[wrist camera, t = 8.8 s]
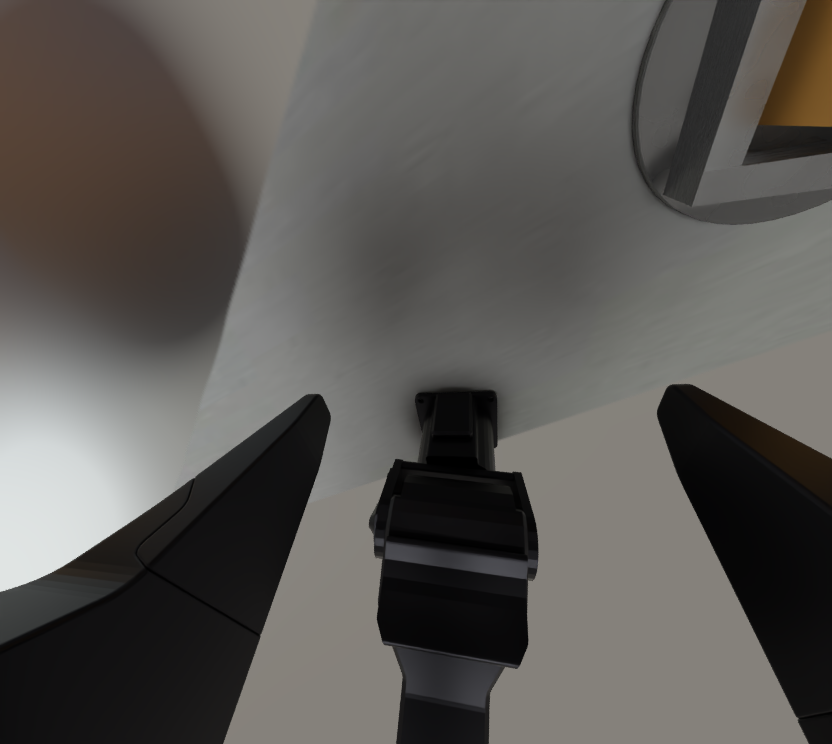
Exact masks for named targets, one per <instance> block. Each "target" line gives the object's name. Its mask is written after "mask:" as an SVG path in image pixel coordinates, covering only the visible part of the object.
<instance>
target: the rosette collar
mask: <svg viewBox="0 0 832 744" xmlns="http://www.w3.org/2000/svg"><path fill="white" fill-rule="evenodd" d="M806 1H807V0H666V1H665V4H664V6H663V8H662V10H661V13H660V15H659V17H658V19H657V22H656V24H655V26H654V28H653V31H652V34H651V37H650V40H649V42H648V45H647V48H646V51H645V54H644V57H643V60H642V64H641V68H640V72H639V76H638V80H637V84H636V90H635V97H634V104H633V120H632V133H633V142H634V151H635V154H636V158H637V162H638V166H639V168H640V170H641V173H642V175H643V177H644V179H645V181H646V183H647V184H648V185H649V187H650V188H651V190H652V191H653V192H654V194H656V195H657V196H658V197H659V198H660V199H661V200H662V201H663V202H664V203H665V204H667V205H669V206H670V207H672V208H673V209H675V210H677V211H679V212H681V213H683V214H685V215H688V216H690V217H693V218H695V219H698V220H701V221H706V222H711V223H715V224H730V225H737V224H753V223H759V222H765V221H770V220H775V219H779V218H783V217H786V216H790V215H794V214H797V213H800V212H802V211H805V210H808V209H811V208H813V207H816V206H819V205H821V204H823V203H826V202H828V201H830V200H832V127H820V126H779V125H758V122H759V120H760V117H761V115H762V112H763V110H764V107H765V105H766V102H767V100H768V97H769V95H770V92H771V90H772V87H773V84H774V82H775V79H776V77H777V74H778V72H779V69H780V67H781V64H782V62H783V59H784V57H785V54H786V52H787V49H788V47H789V44H790V41H791V39H792V36H793V34H794V31H795V29H796V26H797V24H798V21H799V19H800V16H801V14H802V11H803V9H804V6H805V4H806Z"/></svg>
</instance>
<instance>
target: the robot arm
mask: <svg viewBox="0 0 832 744" xmlns="http://www.w3.org/2000/svg"><path fill="white" fill-rule="evenodd" d="M489 397H492V398H489ZM420 399H423V400H420ZM415 403H416V408H417V412H418V417H419V421H420V425H421V430H422V438H421V445H420V451H419V457H418V463H416V462H407V461H403V460H400V459H395V462H394V465H393V468H390V471H389V473H388V475H387V479H386V482H385V485H384V488H383V491H382V494H381V497H380V500H379V502H378V504H377V506H376V508H375V510H374V511H373V513H372V515H371V517H370V520H369V528H370V529H371V531H372V533H373V534H374V553H375V557H376V558H380V559H383V560H382V569H381V579H380V587H379V596H378V613H377V622H378V626H379V630H380V634H381V638H382V642H383V644H384V645H388V646H392V647H393V649H394V652H395V655H396V658H397V661H398V664H399V666H400V669H401V672H402V676H403V681H402V692H401V701H400V711H399V722H398V732H397V741H396V744H489V704H490V703H489V702H490V692H491V690H492V688H493V687H494V685H495V683H496V681H497V680H498V678H499V676H500V674H501V673H502V671H503V669H504V668H505V667H509V668H515V669H517V668H518V667H519V666H520V664H521V662H522V659H523V656H524V654H525V652H526V649H527V646H528V625H527V595H528V580H529V581H533V580H534V579H535V576H536V573H537V567H538V535H537V528H536V522H535V518H534V514H533V511H532V508H531V504H530V501H529V497H528V494H527V490H526V487H525V483H524V480H523V477H522V473H521V472H513V473H509V472H499V471H495V457H494V448H496V447H497V395H496V393H495V392H491V391H485V392H448V393H419V394H417V395H416V398H415ZM657 417H658V421H659V424H660V426H661V429H662V432H663V435H664V438H665V441H666V444H667V446H668V450H669V452H670V455H671V458H672V461H673V464H674V467H675V469H676V472H677V474H678V477H679V479H680V481H681V483H682V485H683V488H684V490H685V492H686V494H687V496H688V498H689V500H690V502H691V504H692V506H693V508H694V510H695V512H696V514H697V516H698V518H699V520H700V522H701V524H702V526H703V528H704V530H705V532H706V534H707V536H708V539H709V540H710V543H711V545H712V546H713V549H714V551H715V553H716V555H717V557H718V559H719V561H720V563H721V565H722V567H723V569H724V571H725V573H726V575H727V577H728V579H729V581H730V583H731V585H732V587H733V589H734V592H735V594H736V596H737V597H738V600H739V602H740V604H741V606H742V608H743V610H744V612H745V614H746V616H747V617H748V620H749V622H750V624H751V626H752V628H753V630H754V632H755V634H756V636H757V638H758V640H759V642H760V644H761V646H762V649H763V651H764V653H765V655H766V657H767V659H768V661H769V663H770V665H771V667H772V669H773V671H774V673H775V675H776V677H777V679H778V681H779V683H780V685H781V687H782V689H783V691H784V693H785V695H786V697H787V699H788V701H789V704H790V706H791V708H792V710H793V711H794V714H795V715H796V717H797V718H799V719H798V723H799V725H800V727H801V729H802V730H803V733H804V735H805V737H806V739H807V741H808V743H809V744H832V459H831V458H829V457H828V456H826V455H824V454H822V453H820V452H818V451H816V450H814V449H812V448H811V447H809V446H807V445H805V444H803V443H801V442H799V441H797V440H795V439H794V438H792V437H790V436H788V435H786V434H784V433H782V432H780V431H778V430H777V429H775V428H773V427H771V426H769V425H767V424H765V423H763V422H761V421H760V420H758V419H756V418H754V417H752V416H750V415H748V414H746V413H745V412H743V411H741V410H739V409H737V408H735V407H733V406H731V405H729V404H727V403H726V402H724V401H722V400H720V399H718V398H716V397H714V396H712V395H711V394H709V393H707V392H705V391H703V390H701V389H699V388H697V387H696V386H693V385H690V384H673V385H670V386H668V387H667V389H666V391H665V393H664V395H663V398H662V400H661V402H660V404H659V407H658V410H657ZM330 421H331V415H330V412H329V410H328V408H327V405H326V403H325V401H324V399H323V397H322V396H321V395H320V394H308V395H305V396H304V397H302V398H301V399H300V400H298V401H297V402H296V403H294V404H293V405H292V406H290V407H289V408H288V409H286V410H285V411H284V412H282V413H281V414H279V415H278V416H277V417H275V418H274V419H273V420H271V421H270V422H269V423H267V424H266V425H265V426H263V427H262V428H260V429H259V430H258V431H256V432H255V433H254V434H252V435H251V436H250V437H248V438H247V439H246V440H244V441H243V442H241V443H240V444H239V445H237V446H236V447H235V448H233V449H232V450H231V451H229V452H228V453H227V454H225V455H224V456H223V457H221V458H220V459H218V460H217V461H216V462H214V463H213V464H212V465H210V466H209V467H208V468H206V469H205V470H204V471H202V472H201V473H199V474H198V475H197V476H196V477H195V478H193V479H191V480H190V481H189V482H187V483H186V484H185V485H183V486H182V487H180V488H179V489H178V490H176V491H175V492H174V493H172V494H171V495H169V496H168V497H167V498H165V499H164V500H162V501H161V502H160V503H158V504H157V505H155V506H154V507H152V508H151V509H150V510H148V511H146V512H145V513H143V514H142V515H140V516H139V517H138V518H136V519H135V520H133V521H132V522H130V523H129V524H127V525H126V526H124V527H123V528H121V529H120V530H118V531H117V532H115V533H113V534H112V535H110V536H109V537H107V538H106V539H104V540H103V541H101V542H100V543H98V544H97V545H95V546H94V547H92V548H91V549H90V550H88V551H86V552H85V553H83V554H82V555H80V556H79V557H77V558H76V559H74V560H73V561H71V562H70V563H68V564H66V565H65V566H63V567H61V568H60V569H57V570H56V571H54V572H52V573H50V574H48V575H46V576H43V577H41V578H39V579H37V580H34V581H32V582H29V583H27V584H24V585H21V586H18V587H15V588H12V589H9V590H6V591H2V592H0V744H223V742H224V740H225V737H226V734H227V731H228V728H229V725H230V722H231V720H232V717H233V714H234V711H235V708H236V705H237V703H238V700H239V697H240V694H241V691H242V688H243V685H244V683H245V680H246V677H247V674H248V671H249V668H250V665H251V663H252V660H253V657H254V654H255V651H256V648H257V645H258V642H259V640H260V634H261V633H262V630H263V628H264V625H265V622H266V619H267V616H268V613H269V610H270V608H271V605H272V602H273V599H274V596H275V593H276V590H277V588H278V585H279V582H280V579H281V576H282V573H283V570H284V568H285V565H286V562H287V559H288V556H289V553H290V550H291V547H292V545H293V542H294V539H295V536H296V533H297V530H298V527H299V525H300V522H301V519H302V516H303V513H304V510H305V507H306V505H307V502H308V499H309V496H310V493H311V490H312V488H313V485H314V482H315V479H316V476H317V473H318V470H319V467H320V463H321V460H322V455H323V451H324V447H325V443H326V438H327V434H328V430H329V425H330Z"/></svg>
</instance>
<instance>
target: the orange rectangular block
mask: <svg viewBox="0 0 832 744" xmlns="http://www.w3.org/2000/svg"><path fill="white" fill-rule="evenodd" d="M758 125H779V126H820V127H832V0H807V1H806V4H805V6H804V9H803V11H802V14H801V16H800V19H799V21H798V24H797V26H796V29H795V31H794V34H793V36H792V39H791V41H790V44H789V47H788V49H787V52H786V54H785V57H784V59H783V62H782V64H781V67H780V69H779V72H778V74H777V77H776V79H775V82H774V84H773V87H772V90H771V92H770V95H769V97H768V100H767V102H766V105H765V107H764V110H763V112H762V115H761V117H760V120H759V122H758Z"/></svg>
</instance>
